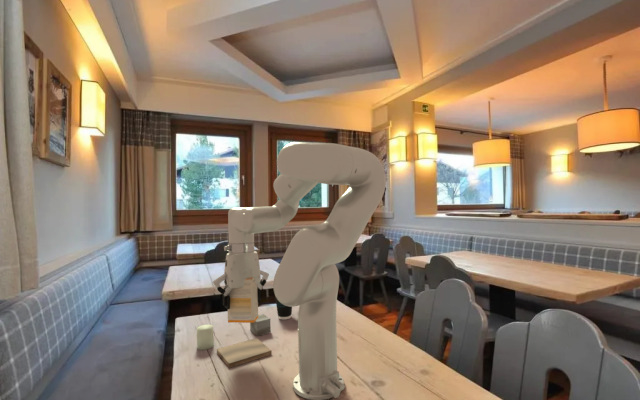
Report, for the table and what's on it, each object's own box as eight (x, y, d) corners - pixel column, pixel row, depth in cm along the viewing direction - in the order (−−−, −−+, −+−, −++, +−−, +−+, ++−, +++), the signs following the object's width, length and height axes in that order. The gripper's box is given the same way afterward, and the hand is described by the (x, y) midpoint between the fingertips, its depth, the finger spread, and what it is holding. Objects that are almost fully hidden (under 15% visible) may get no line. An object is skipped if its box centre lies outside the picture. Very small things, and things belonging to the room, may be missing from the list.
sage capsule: (215, 346, 104) (215, 328, 104) (199, 351, 101) (199, 332, 101) (211, 341, 108) (210, 323, 108) (195, 345, 105) (194, 327, 105)
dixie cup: (293, 312, 133) (292, 286, 133) (296, 319, 126) (295, 291, 126) (273, 314, 132) (273, 287, 132) (275, 321, 124) (274, 293, 124)
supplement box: (258, 317, 101) (258, 275, 101) (253, 323, 96) (253, 278, 96) (233, 317, 102) (232, 275, 102) (226, 322, 97) (226, 278, 97)
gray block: (270, 332, 114) (270, 318, 114) (257, 336, 111) (257, 321, 111) (263, 327, 119) (263, 313, 119) (250, 330, 116) (250, 316, 116)
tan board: (271, 354, 98) (271, 350, 98) (229, 367, 90) (229, 363, 90) (256, 341, 107) (256, 338, 107) (216, 353, 100) (216, 349, 100)
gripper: (216, 253, 91) (217, 314, 91) (273, 246, 100) (273, 302, 101) (208, 249, 97) (210, 307, 97) (262, 244, 107) (263, 296, 107)
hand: (242, 304), depth 99 cm, fingers closed on supplement box, 9 cm apart
